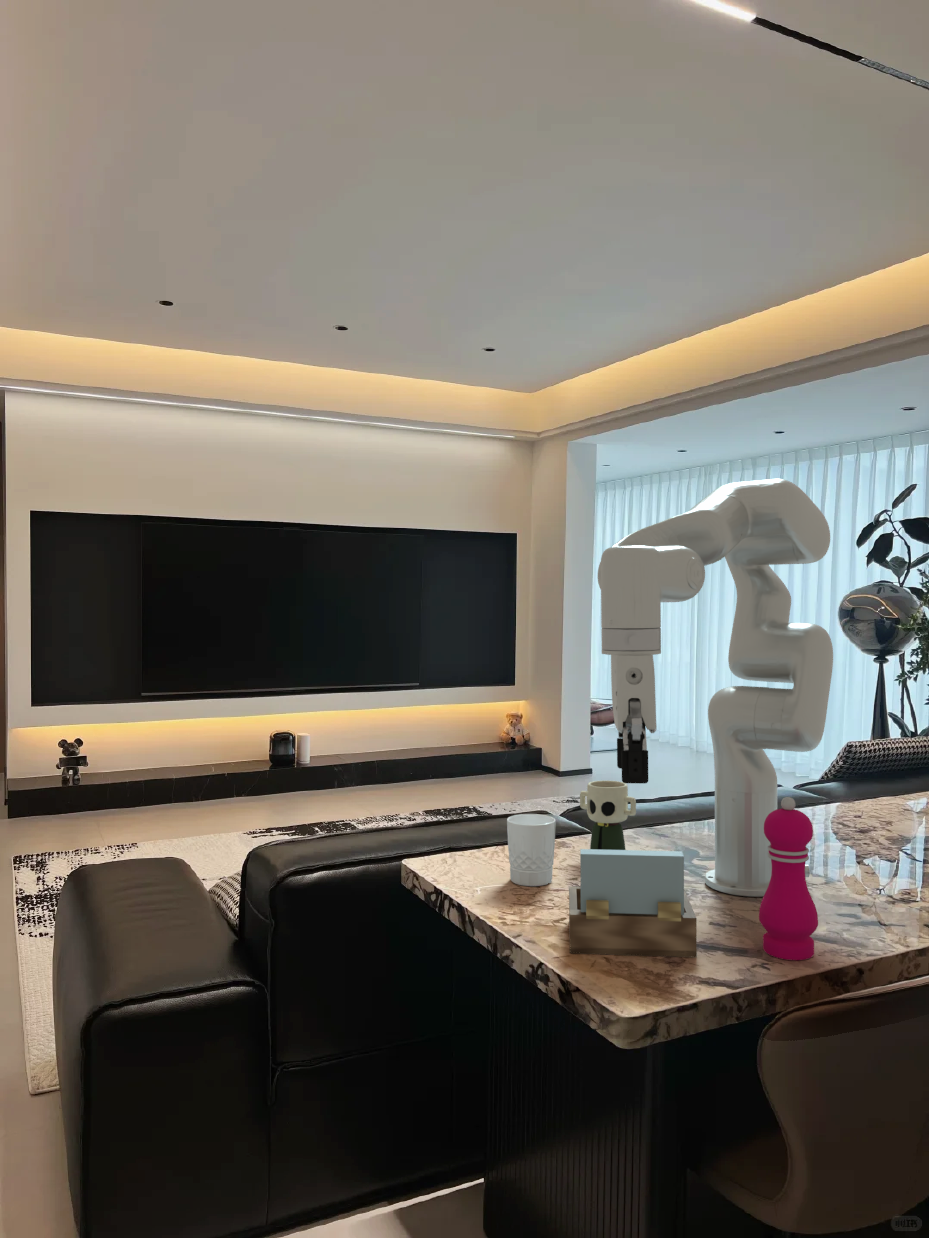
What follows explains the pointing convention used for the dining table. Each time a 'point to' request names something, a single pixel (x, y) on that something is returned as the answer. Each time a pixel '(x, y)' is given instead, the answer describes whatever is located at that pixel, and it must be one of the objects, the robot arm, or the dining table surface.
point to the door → (632, 879)
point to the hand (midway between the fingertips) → (632, 775)
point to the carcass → (631, 929)
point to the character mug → (607, 812)
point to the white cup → (531, 848)
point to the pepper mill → (788, 886)
